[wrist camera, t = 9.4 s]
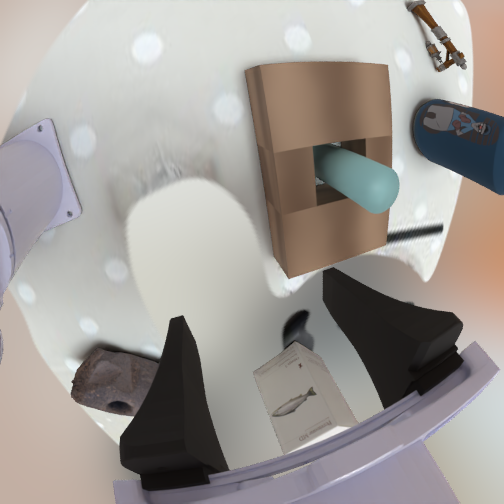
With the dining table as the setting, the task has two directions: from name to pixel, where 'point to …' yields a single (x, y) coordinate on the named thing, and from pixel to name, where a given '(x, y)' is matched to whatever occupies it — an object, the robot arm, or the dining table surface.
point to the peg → (356, 177)
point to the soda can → (463, 141)
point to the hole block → (302, 162)
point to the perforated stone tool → (113, 382)
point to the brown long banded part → (441, 35)
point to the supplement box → (302, 398)
